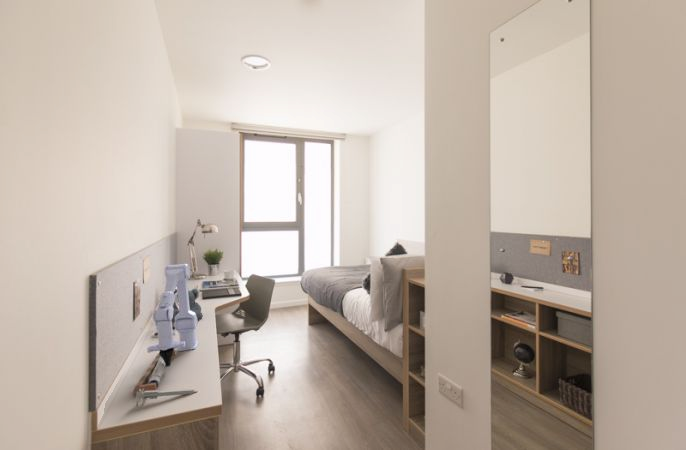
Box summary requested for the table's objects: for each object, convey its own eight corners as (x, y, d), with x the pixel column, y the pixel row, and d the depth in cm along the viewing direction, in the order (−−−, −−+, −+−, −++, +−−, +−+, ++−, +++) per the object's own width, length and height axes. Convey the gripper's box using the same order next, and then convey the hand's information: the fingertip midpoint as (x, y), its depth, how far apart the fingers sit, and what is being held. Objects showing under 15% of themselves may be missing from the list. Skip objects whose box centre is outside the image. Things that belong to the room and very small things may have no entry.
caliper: (136, 407, 121) (134, 391, 121) (136, 405, 122) (135, 389, 122) (197, 392, 129) (196, 377, 128) (197, 391, 130) (196, 375, 129)
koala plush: (200, 312, 227) (197, 284, 226) (208, 319, 213) (205, 288, 212) (172, 319, 217) (169, 289, 215) (179, 326, 202) (175, 294, 201)
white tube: (145, 381, 132) (159, 347, 155) (147, 396, 133) (160, 360, 157) (159, 378, 133) (171, 345, 157) (161, 393, 135) (173, 358, 158)
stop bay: (158, 358, 160) (157, 352, 160) (175, 356, 162) (175, 350, 161) (134, 395, 129) (133, 388, 129) (155, 391, 131) (154, 384, 130)
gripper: (143, 341, 139) (147, 372, 140) (181, 335, 143) (184, 366, 144) (149, 334, 146) (152, 364, 147) (185, 329, 150) (187, 359, 151)
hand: (168, 365), depth 146 cm, fingers closed
